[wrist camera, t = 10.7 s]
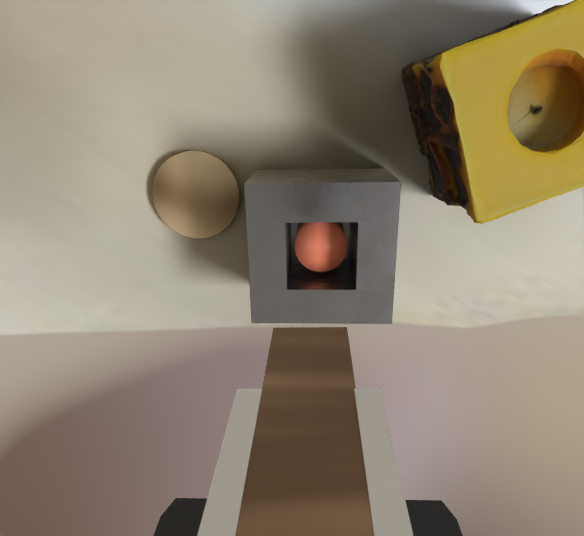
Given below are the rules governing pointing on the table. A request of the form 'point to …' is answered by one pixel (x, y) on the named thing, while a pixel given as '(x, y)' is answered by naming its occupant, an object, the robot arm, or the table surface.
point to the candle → (504, 114)
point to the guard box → (318, 209)
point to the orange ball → (320, 245)
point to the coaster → (195, 194)
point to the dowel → (307, 442)
